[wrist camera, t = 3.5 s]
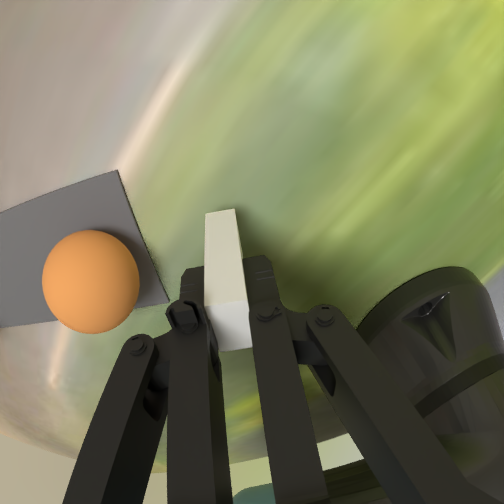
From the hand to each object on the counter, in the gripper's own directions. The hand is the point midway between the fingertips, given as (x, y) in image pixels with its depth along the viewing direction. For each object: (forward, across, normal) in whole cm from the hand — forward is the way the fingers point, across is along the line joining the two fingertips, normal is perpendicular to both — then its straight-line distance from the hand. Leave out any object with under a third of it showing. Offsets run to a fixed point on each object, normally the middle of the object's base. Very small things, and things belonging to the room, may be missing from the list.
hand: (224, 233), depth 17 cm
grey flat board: (+2, +19, +2) cm, 19 cm away
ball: (-1, +8, +1) cm, 8 cm away
